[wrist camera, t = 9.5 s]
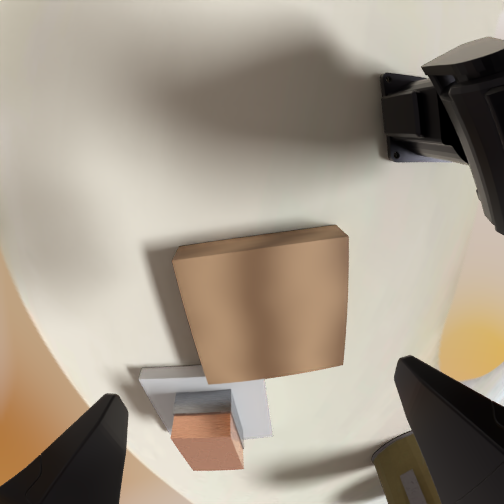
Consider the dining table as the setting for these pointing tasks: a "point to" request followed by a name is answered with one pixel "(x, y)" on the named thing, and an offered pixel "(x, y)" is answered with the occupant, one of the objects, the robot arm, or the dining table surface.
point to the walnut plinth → (266, 302)
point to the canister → (405, 472)
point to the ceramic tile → (194, 380)
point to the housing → (208, 430)
